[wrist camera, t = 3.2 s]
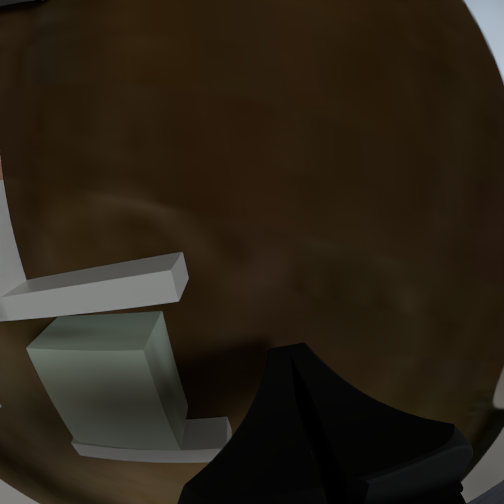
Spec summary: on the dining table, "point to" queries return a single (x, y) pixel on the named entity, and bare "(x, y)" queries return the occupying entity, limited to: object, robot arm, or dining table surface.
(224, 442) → the channel
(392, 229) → the dining table surface
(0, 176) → the block
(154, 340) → the block
